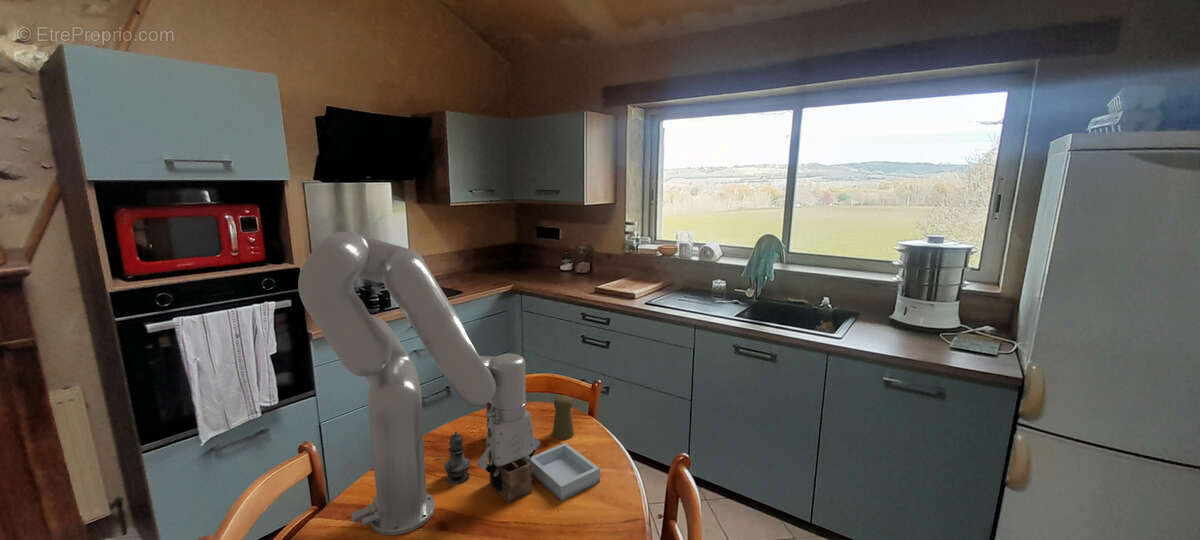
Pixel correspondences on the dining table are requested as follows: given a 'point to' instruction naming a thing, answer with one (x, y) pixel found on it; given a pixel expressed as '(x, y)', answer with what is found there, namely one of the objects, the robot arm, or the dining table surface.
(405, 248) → the robot arm
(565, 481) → the grey crate
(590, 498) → the dining table surface
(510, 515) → the dining table surface
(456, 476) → the dark grey chess piece
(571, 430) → the cork
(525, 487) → the walnut crate
